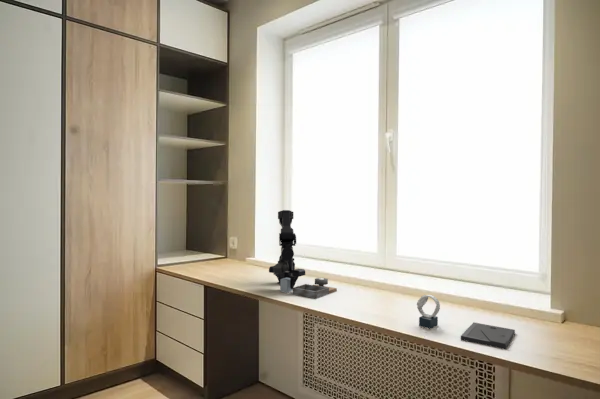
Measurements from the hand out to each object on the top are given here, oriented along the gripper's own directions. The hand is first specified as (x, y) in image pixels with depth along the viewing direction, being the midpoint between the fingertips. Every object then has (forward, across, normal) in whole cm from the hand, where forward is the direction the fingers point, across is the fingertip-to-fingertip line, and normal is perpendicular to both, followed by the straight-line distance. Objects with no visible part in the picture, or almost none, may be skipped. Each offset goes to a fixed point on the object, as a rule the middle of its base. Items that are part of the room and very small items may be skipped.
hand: (286, 288), depth 197 cm
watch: (+1, +73, -10) cm, 74 cm away
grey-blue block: (+1, 0, 0) cm, 1 cm away
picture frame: (+2, +93, -9) cm, 93 cm away
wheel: (-2, +13, +11) cm, 17 cm away
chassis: (+1, +13, +6) cm, 14 cm away
